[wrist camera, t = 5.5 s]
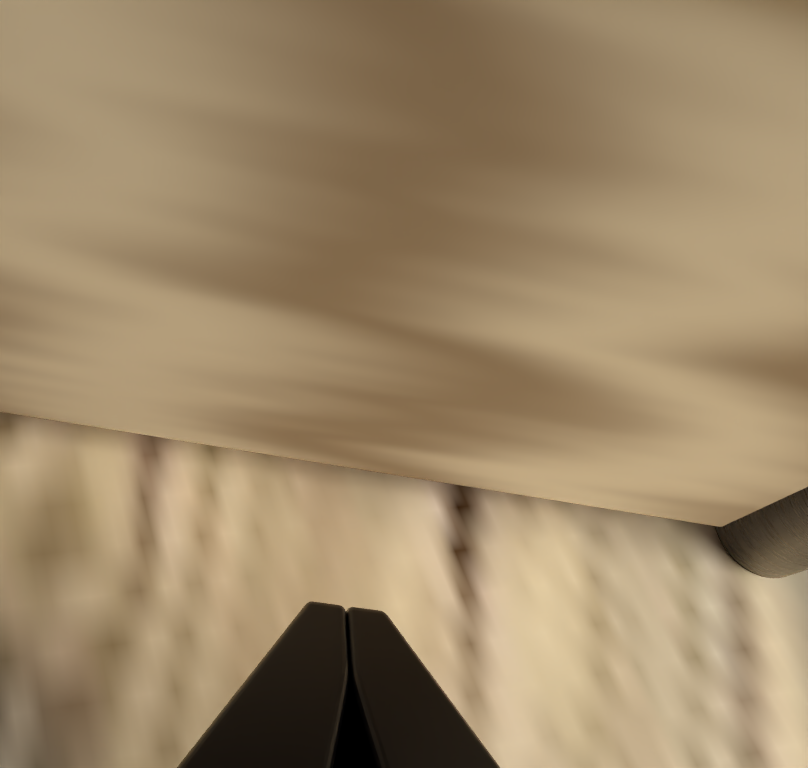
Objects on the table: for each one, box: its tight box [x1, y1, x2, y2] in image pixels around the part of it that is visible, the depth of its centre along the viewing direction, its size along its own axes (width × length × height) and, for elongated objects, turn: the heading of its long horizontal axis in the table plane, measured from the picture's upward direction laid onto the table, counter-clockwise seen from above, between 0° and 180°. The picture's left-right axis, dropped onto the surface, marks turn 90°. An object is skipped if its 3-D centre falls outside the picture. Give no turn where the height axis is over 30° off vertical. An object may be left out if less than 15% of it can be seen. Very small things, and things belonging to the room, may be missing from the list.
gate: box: [0, 0, 808, 527], centre depth 10 cm, size 17×2×12 cm, turn 84°
